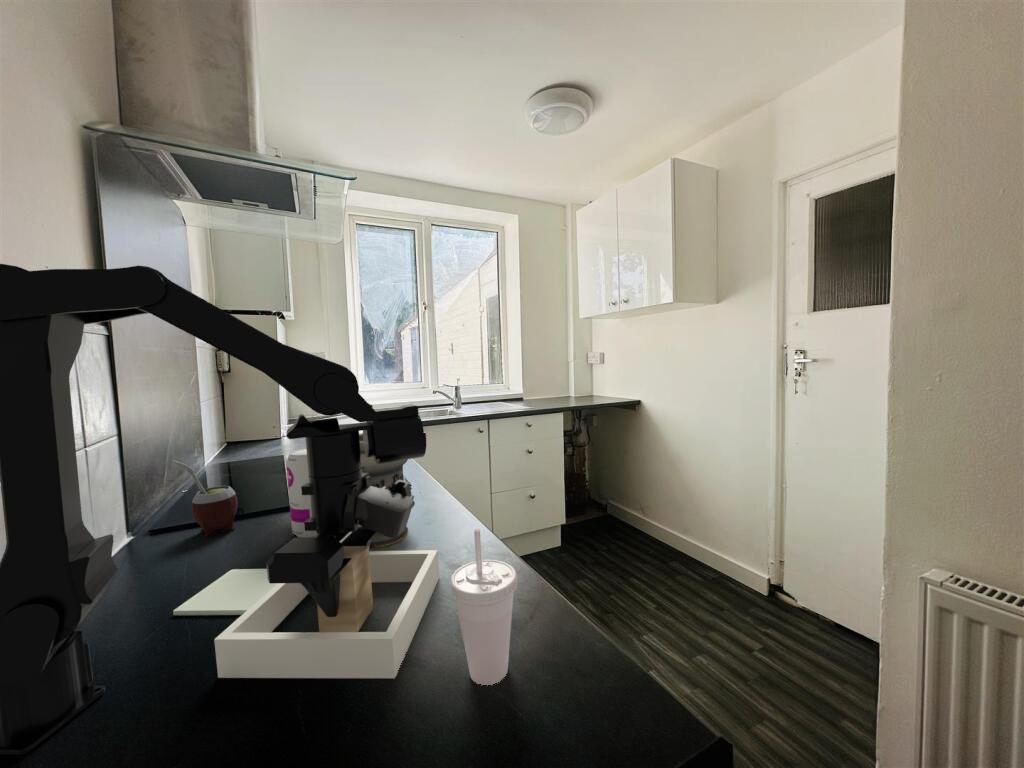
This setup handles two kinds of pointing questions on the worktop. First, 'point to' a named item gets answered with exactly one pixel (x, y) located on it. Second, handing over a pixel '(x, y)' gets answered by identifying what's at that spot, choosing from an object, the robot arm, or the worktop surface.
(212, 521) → the mate gourd
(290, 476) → the supplement can
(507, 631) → the smoothie
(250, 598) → the sage mat
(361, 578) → the maple block
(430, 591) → the white square frame
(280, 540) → the worktop surface
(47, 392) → the robot arm
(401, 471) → the apothecary jar
